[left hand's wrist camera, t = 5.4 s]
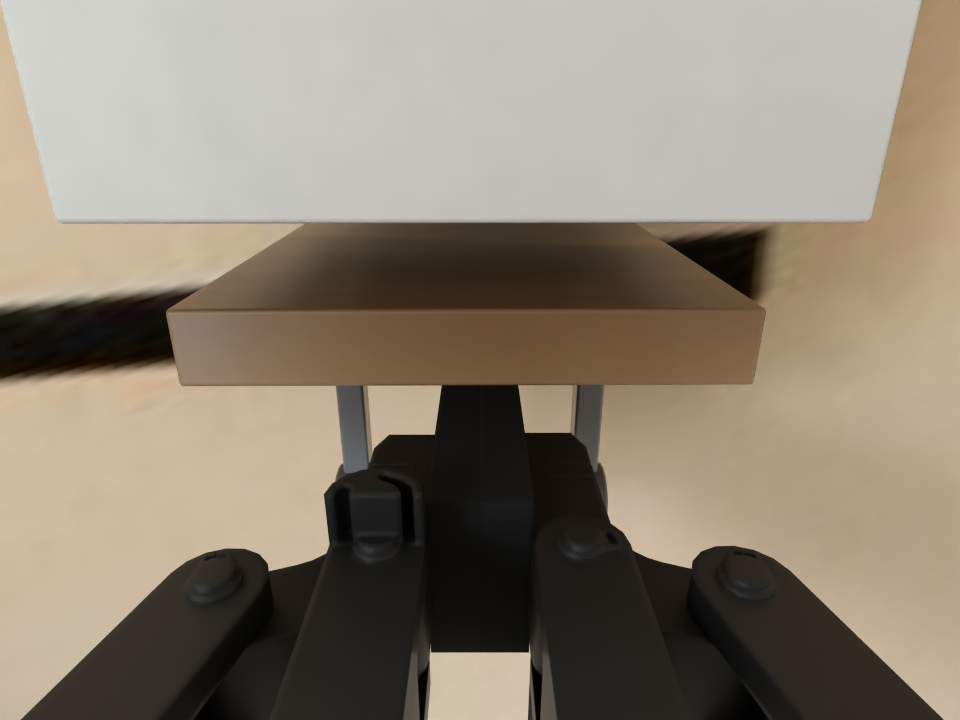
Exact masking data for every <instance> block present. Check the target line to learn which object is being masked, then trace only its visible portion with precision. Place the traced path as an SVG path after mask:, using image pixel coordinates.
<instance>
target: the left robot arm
mask: <svg viewBox="0 0 960 720" xmlns="http://www.w3.org/2000/svg"><path fill="white" fill-rule="evenodd" d="M324 498H325V507H326V516H327V525H328V534H329V543H330V545H329V548H328V551H327V553H326V554H325V555H323V556H321V557H319V558H316V559H314V560H312V561H309V562H306V563H302V564H299V565H295V566H291V567H286V568H282V569H278V570H273V571H269V570H268V564H267V563H266V561H265V560H264V559H263V558H262V557H261V556H260V555H259V554H257V553H254V552H252V551H249V550H246V549H222V550H217V551H213V552H208V553H205V554H203V555H200V556H198V557H196V558H194V559H191V560H189V561H187V562H185V563H184V564H183V565H181V566H180V567H179V568H177V569H176V570H175V571H173V572H172V573H171V574H170V575H169V576H168V577H167V578H166V579H165V580H164V581H162V582H161V583H160V584H159V585H158V586H157V587H156V588H155V589H154V590H153V591H152V592H151V593H150V594H149V595H148V596H147V597H146V598H145V599H144V600H143V601H142V602H141V603H140V604H139V605H138V606H137V607H136V608H135V609H134V610H133V611H132V612H131V613H130V614H129V615H128V616H127V617H126V618H125V619H124V620H123V621H122V622H121V623H119V624H118V625H117V626H116V627H115V628H114V629H113V630H112V631H111V632H110V633H109V634H108V635H107V636H106V637H105V638H104V639H103V640H102V641H101V642H100V643H99V644H98V645H97V646H96V647H95V648H94V649H93V650H92V651H91V652H90V653H89V654H88V655H87V656H86V657H85V658H84V659H83V660H82V661H81V662H80V663H79V664H77V665H76V666H75V667H74V668H73V669H72V670H71V671H70V672H69V673H68V674H67V675H66V676H65V677H64V678H63V679H62V680H61V681H60V682H59V683H58V684H57V685H56V686H55V687H54V688H53V689H52V690H51V691H50V692H49V693H48V694H47V695H46V696H45V697H44V698H43V699H42V700H41V701H40V702H39V703H38V704H37V705H36V706H34V707H33V708H32V709H31V710H30V711H29V712H28V713H27V714H26V715H25V716H24V717H23V718H22V719H21V720H427V718H428V706H429V694H430V661H429V656H430V646H431V652H529V642H530V653H531V661H530V686H529V710H528V720H943V719H942V718H941V717H940V716H939V715H938V714H937V713H936V712H935V711H934V710H933V709H932V708H931V707H930V706H929V705H928V704H927V703H926V702H925V701H924V700H923V699H922V698H921V697H920V696H919V695H918V694H917V693H915V692H914V691H913V690H912V689H911V688H910V687H909V686H908V685H907V684H906V683H905V682H904V681H903V680H902V679H901V678H900V677H899V676H898V675H897V674H896V673H895V672H894V671H893V670H892V669H891V668H890V667H889V666H888V665H887V664H886V663H885V662H884V661H882V660H881V659H880V658H879V657H878V656H877V655H876V654H875V653H874V652H873V651H872V650H871V649H870V648H869V647H868V646H867V645H866V644H865V643H864V642H863V641H862V640H861V639H860V638H859V637H858V636H857V635H856V634H855V633H854V632H853V631H852V630H851V629H849V628H848V627H847V626H846V625H845V624H844V623H843V622H842V621H841V620H840V619H839V618H838V617H837V616H836V615H835V614H834V613H833V612H832V611H831V610H830V609H829V608H828V607H827V606H826V605H825V604H824V603H823V602H822V601H821V600H820V599H819V598H817V597H816V596H815V595H814V594H813V593H812V592H811V591H810V590H809V589H808V588H807V587H806V586H805V585H804V584H803V583H802V582H801V581H800V580H799V579H798V578H797V577H796V576H795V575H794V574H793V573H792V572H791V571H790V570H788V569H787V568H785V567H784V566H783V565H781V564H780V563H779V562H777V561H776V560H775V559H773V558H771V557H768V556H766V555H764V554H762V553H759V552H757V551H755V550H751V549H746V548H741V547H737V546H715V547H713V548H710V549H707V550H704V551H702V552H700V554H699V555H698V556H697V557H696V558H695V559H694V560H693V563H692V569H689V568H685V567H680V566H676V565H671V564H667V563H663V562H659V561H656V560H653V559H649V558H647V557H645V556H643V555H640V554H638V553H636V552H634V551H633V550H632V547H631V544H630V543H629V541H628V540H627V538H626V536H625V535H624V533H623V532H622V531H620V530H619V529H617V528H616V527H615V526H613V525H612V524H611V523H610V520H609V517H608V514H607V511H606V508H605V505H604V502H603V498H602V495H601V492H600V489H599V486H598V483H597V480H596V478H595V473H594V470H593V467H592V465H591V461H590V458H589V455H588V452H587V449H586V446H585V445H584V444H583V443H581V442H580V441H579V440H578V439H577V438H576V437H575V436H574V435H573V434H571V433H525V431H524V424H523V417H522V410H521V403H520V395H519V388H518V385H442V388H441V396H440V403H439V410H438V417H437V424H436V431H435V435H389V436H387V437H386V438H385V439H384V440H383V441H382V442H381V443H380V444H379V445H377V446H376V447H375V448H374V451H373V454H372V457H371V460H370V463H369V467H368V469H365V470H360V471H357V472H354V473H351V474H348V475H345V476H344V477H342V478H340V479H339V480H337V481H336V482H334V483H332V484H331V486H330V487H329V488H328V490H327V491H326V492H325V494H324Z"/></svg>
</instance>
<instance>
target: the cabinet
mask: <svg viewBox="0 0 960 720" xmlns="http://www.w3.org/2000/svg"><path fill="white" fill-rule="evenodd" d="M921 3H922V0H0V4H1V8H2V12H3V16H4V20H5V24H6V28H7V32H8V36H9V40H10V44H11V47H12V51H13V55H14V59H15V63H16V67H17V71H18V75H19V79H20V83H21V87H22V91H23V95H24V99H25V103H26V107H27V111H28V115H29V119H30V123H31V127H32V131H33V134H34V138H35V142H36V146H37V150H38V154H39V158H40V162H41V166H42V170H43V174H44V178H45V182H46V186H47V190H48V194H49V198H50V202H51V206H52V210H53V214H54V217H55V219H56V221H58V222H61V223H863V222H866V221H869V220H870V219H871V217H872V214H873V210H874V205H875V201H876V197H877V192H878V188H879V184H880V179H881V175H882V171H883V167H884V162H885V158H886V154H887V149H888V145H889V141H890V137H891V132H892V128H893V124H894V119H895V115H896V111H897V106H898V102H899V98H900V94H901V89H902V85H903V81H904V76H905V72H906V68H907V64H908V59H909V55H910V51H911V46H912V42H913V38H914V34H915V29H916V25H917V21H918V16H919V12H920V8H921Z"/></svg>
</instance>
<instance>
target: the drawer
mask: <svg viewBox="0 0 960 720" xmlns="http://www.w3.org/2000/svg"><path fill="white" fill-rule="evenodd" d="M765 314H766V311H765V309H764V308H763V307H761V306H760V305H758V304H757V303H755V302H754V301H752V300H751V299H749V298H748V297H746V296H745V295H743V294H742V293H740V292H739V291H737V290H736V289H734V288H733V287H731V286H730V285H728V284H727V283H725V282H723V281H722V280H720V279H719V278H717V277H716V276H714V275H713V274H711V273H710V272H708V271H707V270H705V269H704V268H702V267H701V266H699V265H698V264H696V263H695V262H693V261H692V260H690V259H689V258H687V257H686V256H684V255H683V254H681V253H679V252H678V251H676V250H675V249H673V248H672V247H670V246H669V245H667V244H666V243H664V242H663V241H661V240H660V239H658V238H657V237H655V236H654V235H652V234H651V233H649V232H648V231H646V230H645V229H643V228H642V227H640V226H639V225H637V224H635V223H306V224H304V225H303V226H301V227H299V228H298V229H296V230H295V231H293V232H291V233H290V234H288V235H287V236H285V237H283V238H282V239H280V240H279V241H277V242H275V243H274V244H272V245H271V246H269V247H267V248H266V249H264V250H263V251H261V252H259V253H258V254H256V255H255V256H253V257H251V258H250V259H248V260H247V261H245V262H243V263H242V264H240V265H238V266H237V267H235V268H234V269H232V270H230V271H229V272H227V273H226V274H224V275H222V276H221V277H219V278H218V279H216V280H214V281H213V282H211V283H210V284H208V285H206V286H205V287H203V288H202V289H200V290H198V291H197V292H195V293H194V294H192V295H190V296H189V297H187V298H186V299H184V300H182V301H181V302H179V303H178V304H176V305H174V306H173V307H171V308H170V309H168V310H167V312H166V316H167V321H168V326H169V331H170V336H171V341H172V346H173V351H174V356H175V361H176V366H177V371H178V376H179V381H180V384H181V385H182V386H336V392H337V402H338V413H339V423H340V434H341V444H342V455H343V464H341V465H340V467H339V469H338V472H337V475H336V480H335V482H336V481H337V480H339V479H340V478H342V477H344V476H345V475H348V474H351V473H354V472H357V471H360V470H365V469H368V467H369V463H370V460H371V457H372V442H371V428H370V415H369V402H368V388H367V385H573V399H572V415H571V431H570V433H571V434H573V435H574V436H575V437H576V438H577V439H578V440H579V441H580V442H581V443H583V444H584V445H585V446H586V449H587V452H588V455H589V458H590V461H591V465H592V467H593V470H594V473H595V478H596V480H597V483H598V486H599V489H600V492H601V495H602V498H603V502H604V505H605V508H606V511H607V513H608V494H607V484H606V477H605V473H604V470H603V467H602V465H601V464H600V463H599V462H598V454H599V441H600V429H601V417H602V405H603V393H604V385H697V384H752V383H753V381H754V375H755V370H756V364H757V359H758V353H759V348H760V342H761V337H762V331H763V326H764V320H765Z"/></svg>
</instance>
